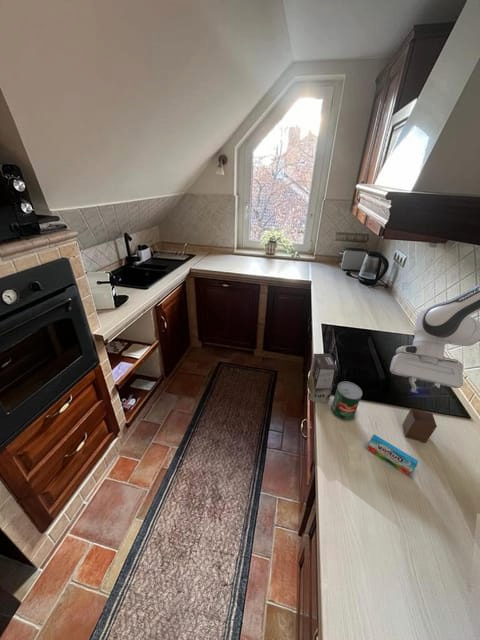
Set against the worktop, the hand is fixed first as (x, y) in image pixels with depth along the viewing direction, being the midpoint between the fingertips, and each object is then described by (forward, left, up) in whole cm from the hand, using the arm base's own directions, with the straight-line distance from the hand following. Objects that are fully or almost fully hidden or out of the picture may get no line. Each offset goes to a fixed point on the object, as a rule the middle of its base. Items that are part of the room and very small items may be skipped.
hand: (422, 394), depth 83 cm
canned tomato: (+22, -9, -12) cm, 26 cm away
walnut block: (+4, +5, -11) cm, 13 cm away
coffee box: (+26, -19, -12) cm, 34 cm away
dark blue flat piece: (0, 0, -5) cm, 5 cm away
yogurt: (+20, +10, -12) cm, 25 cm away
